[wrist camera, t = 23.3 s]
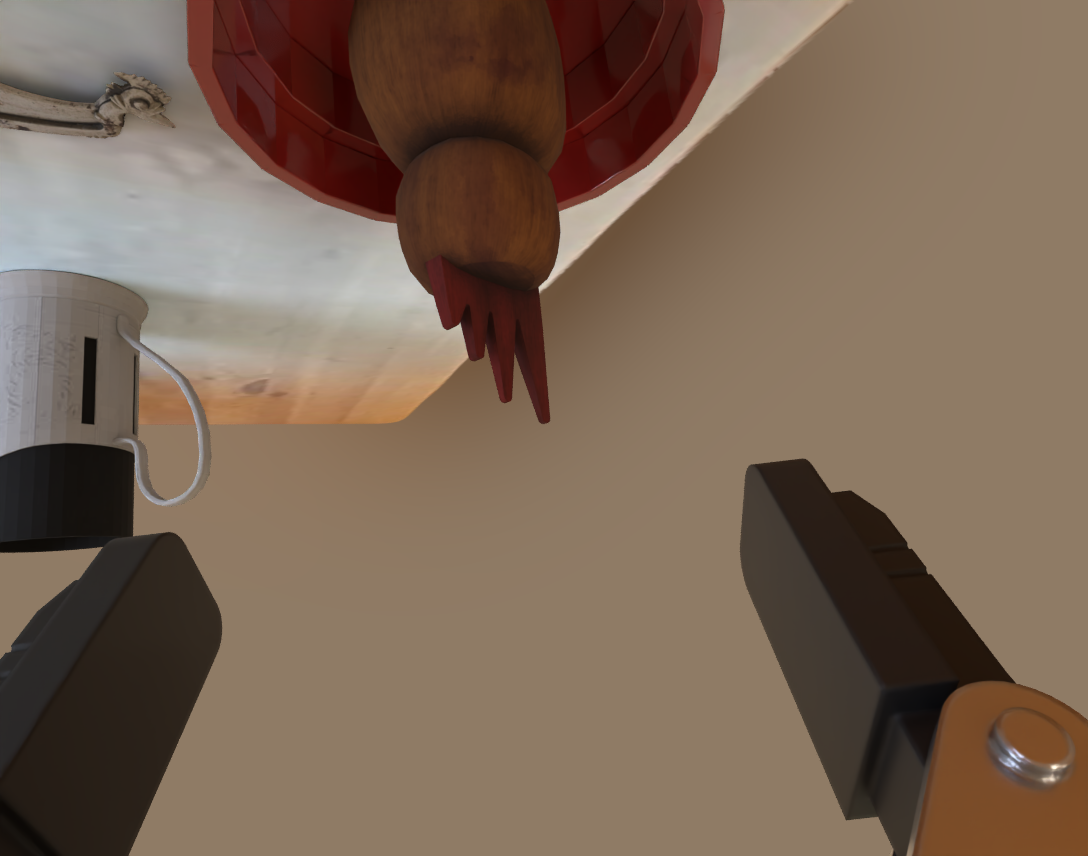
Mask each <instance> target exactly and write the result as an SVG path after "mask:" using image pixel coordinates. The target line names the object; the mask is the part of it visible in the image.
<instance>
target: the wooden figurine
mask: <svg viewBox="0 0 1088 856" xmlns="http://www.w3.org/2000/svg"><path fill="white" fill-rule="evenodd" d="M348 44H349V62H350V68H351V72H352V77H353V81H354V85H355V89H356V93H357V98H358V100H359V102H360V104H361V106H362V108H363V110H364V113H365V115H366V117H367V119H368V121H369V123H370V125H371V128H372V130H373V132H374V134H375V136H376V138H377V140H378V143H379V145H380V147H381V148H382V149H383V150H384V152H385V153H386V154H387V155H388V157H389V158H390V159H391V160H392V162H393V163H394V164H395V165H396V166H397V167H398V169H399V170H400V171H401V172H402V173H403V174H404V176H403V178H402V181H401V183H400V186H399V189H398V192H397V195H396V220H397V227H398V234H399V240H400V244H401V248H402V252H403V254H404V257H405V259H406V262H407V265H408V267H409V270H410V271H411V273H412V274H413V275H414V276H415V278H416V279H417V280H418V281H419V282H420V284H421V285H422V286H423V287H424V288H425V290H426V291H427V292H428V293H429V294H431V295H433V296H434V298H435V302H436V306H437V309H438V312H439V316H440V319H441V322H442V325H443V327H444V329H446V330H449V329H451V328H453V327H455V326H457V325H459V324H460V323H461V327H462V331H463V335H464V339H465V344H466V348H467V352H468V356H469V359H470V360H471V361H477V360H479V359H481V358H483V357H484V352H485V343H486V345H487V349H488V353H489V357H490V361H491V365H492V369H493V373H494V377H495V381H496V386H497V390H498V394H499V398H500V400H501V402H503V403H507V402H509V401H511V399H512V388H513V369H514V368H513V367H514V352H515V355H516V358H517V361H518V363H519V366H520V369H521V372H522V375H523V378H524V380H525V383H526V386H527V389H528V392H529V395H530V398H531V400H532V403H533V406H534V409H535V412H536V415H537V417H538V420H539V422H540V423H541V424H545V423H548V422H549V421H550V412H549V399H548V387H547V376H546V363H545V352H544V339H543V327H542V318H541V307H540V298H539V288H538V287H539V286H540V285H541V284H542V283H543V282H544V281H545V280H547V279H548V277H549V275H550V273H551V271H552V269H553V267H554V265H555V262H556V258H557V254H558V247H559V239H560V222H559V211H558V206H557V201H556V196H555V192H554V188H553V185H552V181H551V179H550V177H549V176H548V172H549V171H550V169H551V168H552V166H553V165H554V163H555V162H556V160H557V159H558V157H559V156H560V154H561V152H562V148H563V143H564V138H565V133H566V99H565V85H564V74H563V67H562V60H561V53H560V47H559V44H558V40H557V36H556V33H555V29H554V25H553V22H552V18H551V15H550V12H549V9H548V7H547V4H546V1H545V0H355V1H354V6H353V10H352V15H351V20H350V25H349V29H348Z"/></svg>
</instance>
